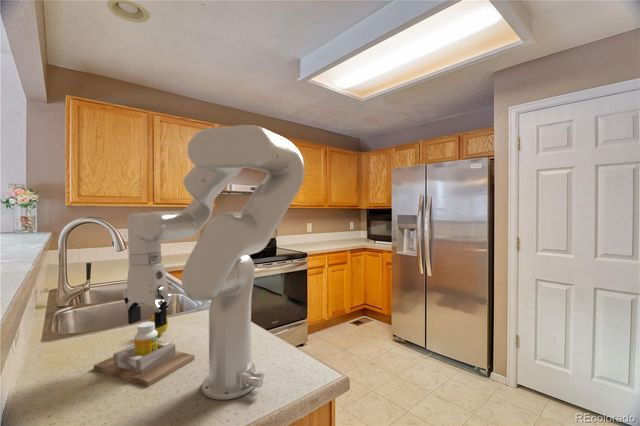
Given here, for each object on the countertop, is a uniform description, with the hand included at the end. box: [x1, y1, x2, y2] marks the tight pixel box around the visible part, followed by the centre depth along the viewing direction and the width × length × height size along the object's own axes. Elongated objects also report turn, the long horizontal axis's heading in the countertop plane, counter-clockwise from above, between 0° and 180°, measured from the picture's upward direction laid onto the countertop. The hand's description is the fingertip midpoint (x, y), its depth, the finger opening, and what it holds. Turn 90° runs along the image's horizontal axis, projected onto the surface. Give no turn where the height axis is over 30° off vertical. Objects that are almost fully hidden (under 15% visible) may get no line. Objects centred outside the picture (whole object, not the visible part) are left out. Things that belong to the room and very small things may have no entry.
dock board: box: [93, 339, 195, 387], centre depth 82 cm, size 20×14×4 cm
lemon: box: [149, 314, 169, 337], centre depth 101 cm, size 6×6×8 cm
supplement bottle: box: [134, 321, 159, 356], centre depth 82 cm, size 5×5×10 cm
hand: (147, 324), depth 82 cm, fingers open, 9 cm apart
